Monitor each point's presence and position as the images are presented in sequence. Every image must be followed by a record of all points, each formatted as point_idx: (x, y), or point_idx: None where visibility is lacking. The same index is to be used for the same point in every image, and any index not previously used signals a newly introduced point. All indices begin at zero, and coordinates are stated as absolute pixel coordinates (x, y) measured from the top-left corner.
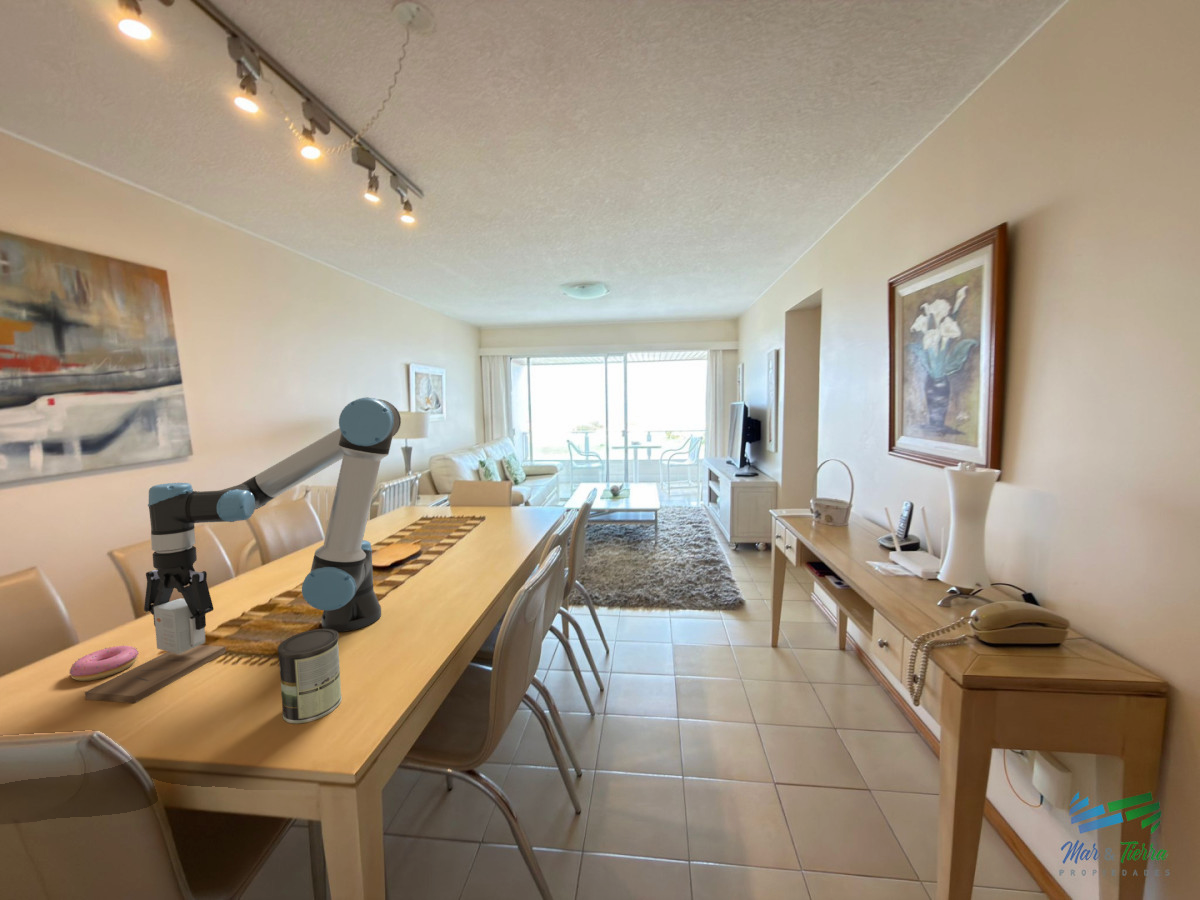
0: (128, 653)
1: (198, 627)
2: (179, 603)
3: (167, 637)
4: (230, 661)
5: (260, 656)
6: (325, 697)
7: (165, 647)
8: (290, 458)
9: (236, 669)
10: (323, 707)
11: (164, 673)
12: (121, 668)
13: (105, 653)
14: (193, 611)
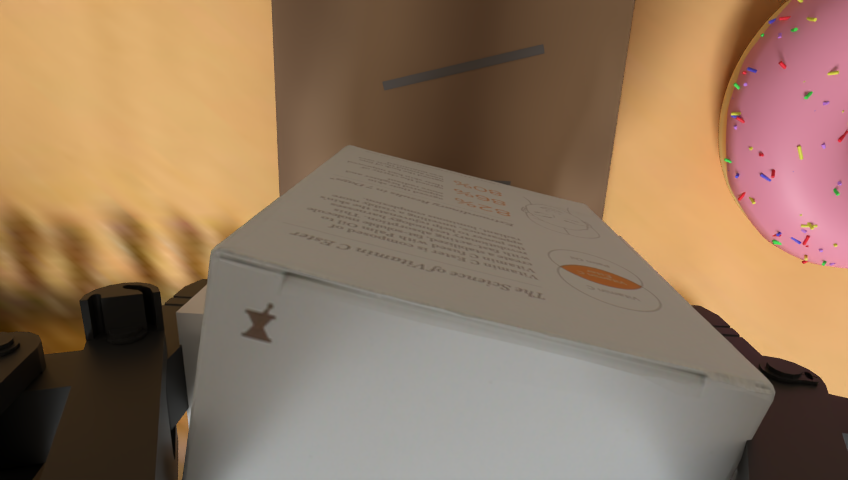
0: (776, 165)
1: (201, 288)
2: None
3: (455, 194)
4: (172, 242)
5: (57, 297)
6: None
7: (490, 184)
8: None
9: (50, 167)
10: None
11: (347, 27)
12: (727, 89)
13: None
14: (109, 361)
